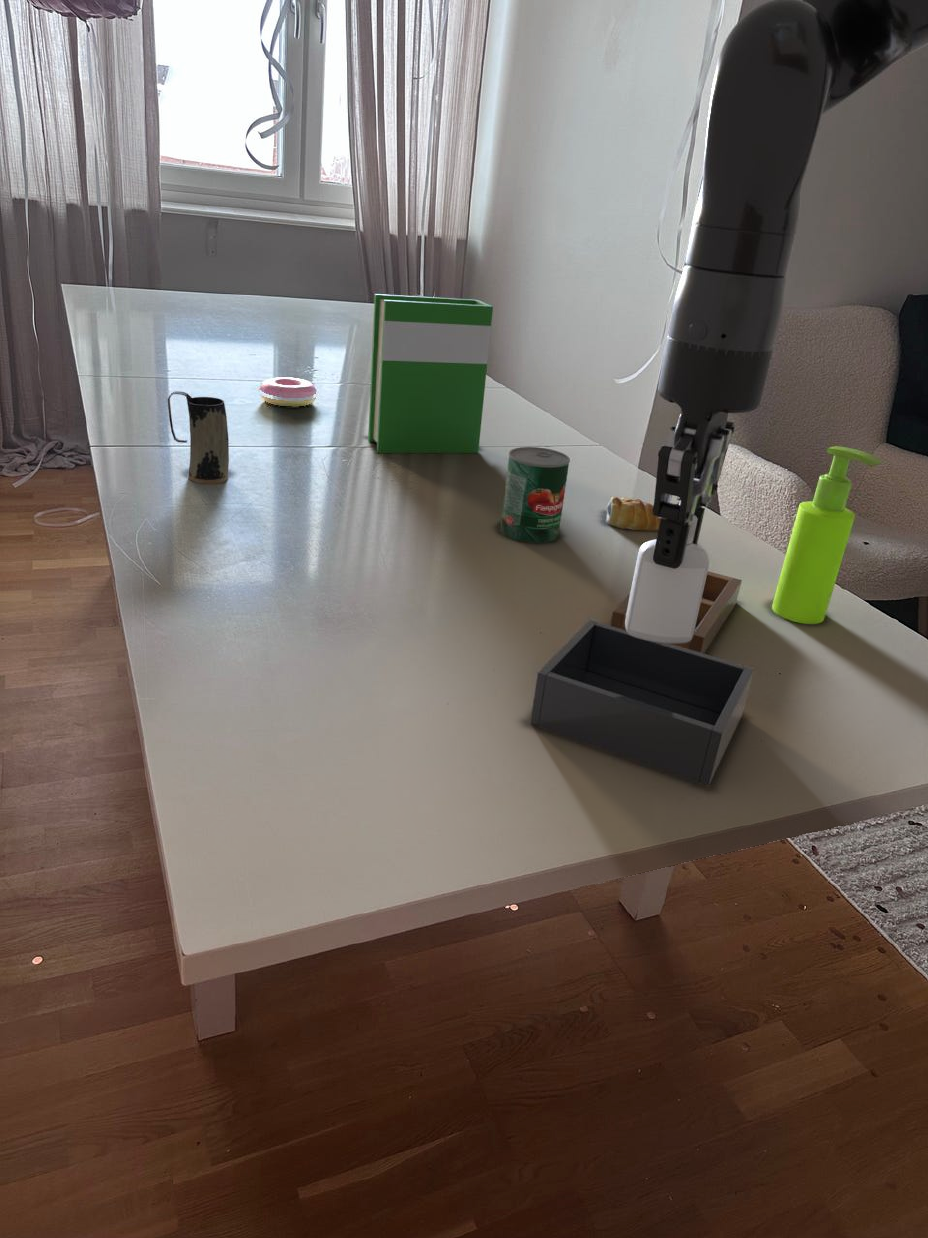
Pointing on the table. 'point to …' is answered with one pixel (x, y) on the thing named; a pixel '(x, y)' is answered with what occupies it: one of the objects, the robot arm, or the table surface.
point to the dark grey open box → (643, 700)
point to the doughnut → (288, 391)
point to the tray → (700, 610)
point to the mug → (206, 439)
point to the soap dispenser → (818, 543)
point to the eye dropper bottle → (667, 594)
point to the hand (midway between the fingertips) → (674, 555)
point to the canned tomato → (534, 494)
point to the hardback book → (428, 373)
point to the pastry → (631, 514)
